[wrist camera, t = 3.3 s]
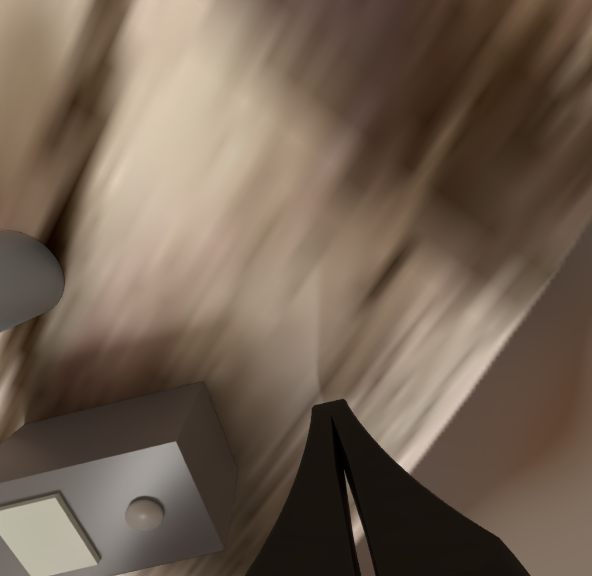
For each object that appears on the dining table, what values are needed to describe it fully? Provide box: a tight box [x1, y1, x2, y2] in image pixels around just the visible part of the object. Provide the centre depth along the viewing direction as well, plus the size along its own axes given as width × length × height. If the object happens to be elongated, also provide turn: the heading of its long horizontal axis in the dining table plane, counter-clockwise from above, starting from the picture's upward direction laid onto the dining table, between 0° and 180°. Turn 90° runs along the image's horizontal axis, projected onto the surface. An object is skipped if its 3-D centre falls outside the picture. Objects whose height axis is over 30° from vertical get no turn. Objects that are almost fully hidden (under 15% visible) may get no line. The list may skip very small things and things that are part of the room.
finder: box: [0, 381, 238, 576], centre depth 11 cm, size 5×8×4 cm, turn 104°
